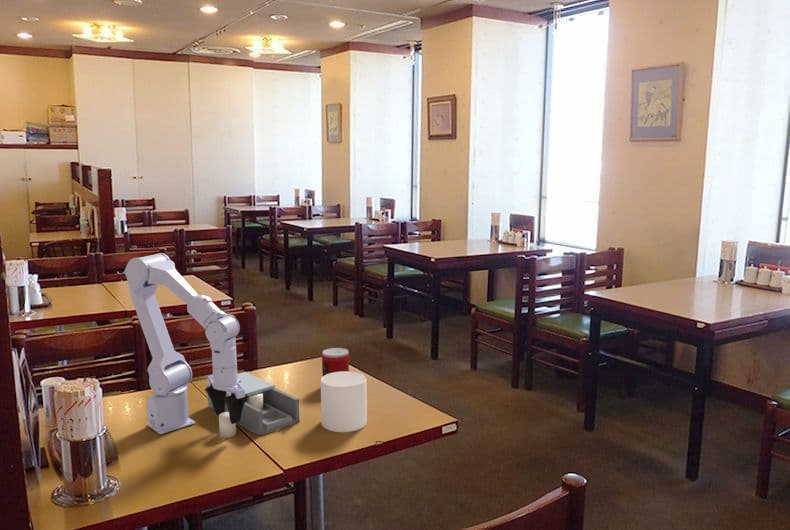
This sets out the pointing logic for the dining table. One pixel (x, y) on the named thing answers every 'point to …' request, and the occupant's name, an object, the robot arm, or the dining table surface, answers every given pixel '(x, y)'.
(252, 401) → the white rounded tapered block
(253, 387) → the lid
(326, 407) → the white cylinder
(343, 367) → the canned food
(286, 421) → the housing
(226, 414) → the white rounded cylinder
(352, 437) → the dining table surface
